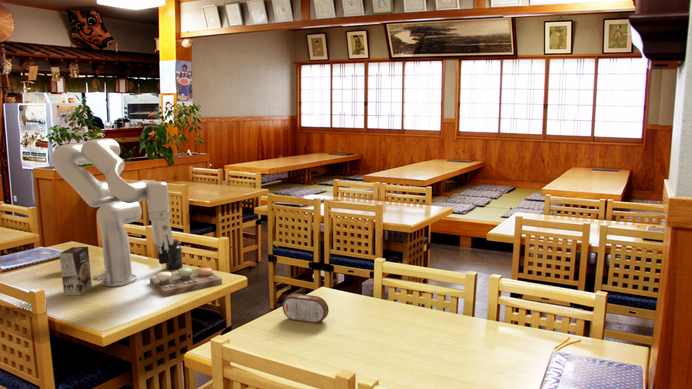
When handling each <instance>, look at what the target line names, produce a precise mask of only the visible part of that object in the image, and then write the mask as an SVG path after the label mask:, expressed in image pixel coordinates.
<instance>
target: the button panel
mask: <svg viewBox="0 0 692 389" xmlns="http://www.w3.org/2000/svg"><path fill="white" fill-rule="evenodd" d="M201 268H202V267H201ZM201 268H195V269H192V274H191V275H190V279H187V280H182V279H181V276H179V275H178V272H175V273H171V276H172V278H171V279H169V282H170V283H168V284H163V285H162V284H161V283H160V281H159V280H157V276H156V277H150V278H149V284H150V285H151V286H152V287H154V289H156V290H157V291H158V293H160V294H161V295H162V296H163V297H167V296H172V295H177V294H178V295H179V294H182V293H187V292H191V291H195V290H199V289H205V288H209V287H213V286H218V285H222V284H223V281H222V280H223V279H222V277H220V276H219V275H217V274H215V273H213V272H212V274H211V275H209V276H199V271H198V270H199V269H201Z"/></svg>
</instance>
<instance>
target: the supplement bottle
mask: <svg viewBox="0 0 692 389" xmlns="http://www.w3.org/2000/svg"><path fill="white" fill-rule="evenodd" d="M179 244H180V243H179V239H177V238H174V239H173V245H170V244H168V248H169V250H168V258H169V263H165V269H167V271H176V270H177V269H178V270H179V269H180V268H184V265H183V263H184V262H183V250H182V247H181V245H179ZM178 270H177V271H178Z"/></svg>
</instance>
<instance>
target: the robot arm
mask: <svg viewBox="0 0 692 389" xmlns="http://www.w3.org/2000/svg"><path fill="white" fill-rule="evenodd" d="M120 154H121V147H120V144H119V143H118V142H117V141H116V140H114V139H113V138H110V137H109V138H108V137H107V138H106V137H105V138H94V139H89V140H87V141H85V142H79V143H77V142H75V143H67V144H62V145H60V146H58V147H56V148H54V150H53V152H52V156H51V159H52V164H53V167H54V169H55V171H56V173H57V174H58V175H59V176H60V177H61V178H62V179H63V180H64V181H66V182H67V183H68V184H69V185H70V186H71V187H72V188H73V189H74V191H75V192H76V193H77V194H78V195H79V196H80V197H81V199H83V201H84V202H86V204H87V205H88V206H89V207H92V208H98V209H97V210H96V220H97V223H98V226H99V229H100V235H101V245H102V253H103V264H104V270H103V272H102V273H100V274H94V275H91V281H93V282H96V281H97V282H100V281H101V284H102V285H103V286H105V287H121V286H124V285H125V286H127V285H130V284H132V283H134V282H135V281H137V275H135V274H133V272H132V271H133V270H132V261H131V259H132V258H131V248H130V239H129V234H128V232H127V230H126V229H125V228H124V225H127V224H130V223H133V222H136V221H138V220H139V219H140V218H141V217H142V212H143V209H142V206H141V204H140V202H144V201H146V203H147V212H148V220H149V221H151V236H152V241H153V243H154V244H155V245H156V248H157V256H158V263H159V264H160V265H164V264H165V265H166V263H169V258H168V250H169V248H168V244H170V245H173V232H172V226H171V222H170V219H171V218H172V217H171V209H170V208H171V206H170V197H169V195H170V194H169V187H168V183H167V182H166V181H157V180H156V181H153V180H149V179H142V180H138V181H137V180H135V181H132V182H127V181H126V180H125V179H123V178H122V177H121V176H120V175H121V173H122V172H123V170H124V169H125V166H126V164H125V161H124V160H123V159H122V158H121V157H120ZM87 164H88V165H89V164H91V165H93V167H95V168H96V169H97V170H99V172H101V174H103V175H105V180H103V181H100V180H98V179H97V178H96V177H95V176H94V175H93V174H92V173H91V172H90V171H88V170H87V169H86V168H84V167H82V166H81V165H87Z"/></svg>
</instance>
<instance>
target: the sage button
mask: <svg viewBox="0 0 692 389" xmlns="http://www.w3.org/2000/svg"><path fill="white" fill-rule="evenodd" d="M192 270H193V268H191V267H182V268H181V269H178V270H177V273H178V275H179V276H181V279H182V280H187V279H190V275H191V274H192Z"/></svg>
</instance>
